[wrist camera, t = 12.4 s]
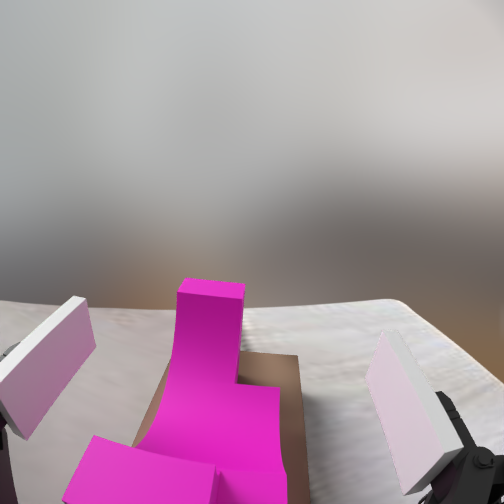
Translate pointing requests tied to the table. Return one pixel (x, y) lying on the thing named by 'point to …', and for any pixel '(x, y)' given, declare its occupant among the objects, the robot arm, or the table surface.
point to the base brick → (290, 413)
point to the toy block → (196, 422)
